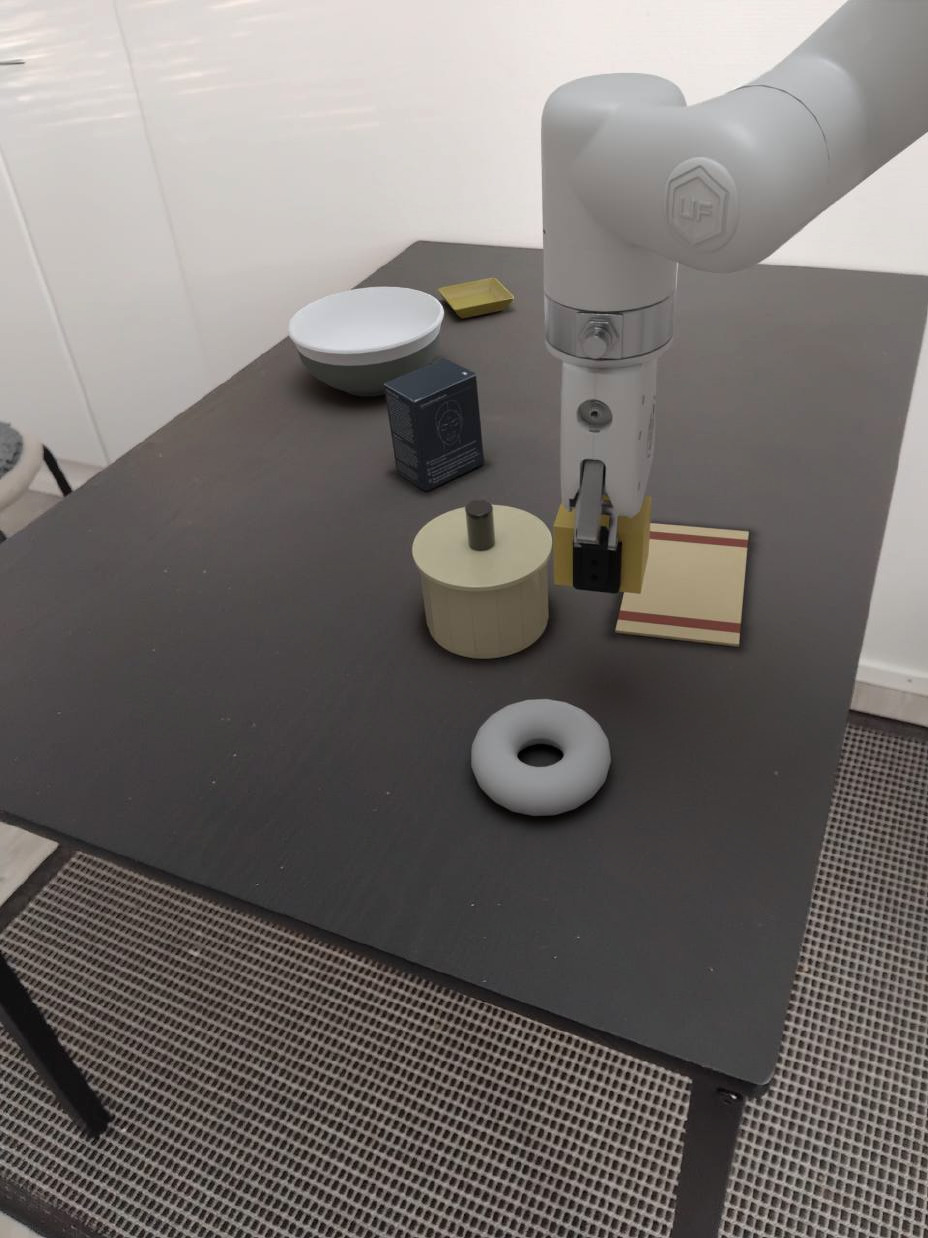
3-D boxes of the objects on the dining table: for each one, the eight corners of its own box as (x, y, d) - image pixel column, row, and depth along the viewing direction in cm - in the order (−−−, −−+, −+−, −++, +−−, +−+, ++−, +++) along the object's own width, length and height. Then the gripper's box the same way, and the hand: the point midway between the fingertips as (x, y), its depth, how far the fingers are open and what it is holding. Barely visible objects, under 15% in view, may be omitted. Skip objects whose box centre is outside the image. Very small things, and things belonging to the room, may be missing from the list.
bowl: (412, 425, 112) (404, 357, 106) (271, 407, 118) (257, 342, 112) (472, 354, 125) (467, 291, 119) (342, 341, 131) (332, 280, 125)
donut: (638, 767, 71) (535, 700, 76) (641, 735, 68) (535, 668, 74) (546, 852, 66) (443, 774, 71) (545, 820, 63) (439, 742, 69)
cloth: (748, 533, 91) (748, 531, 91) (738, 647, 79) (739, 644, 79) (640, 524, 93) (640, 521, 93) (615, 632, 82) (615, 629, 82)
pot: (544, 577, 88) (542, 508, 83) (552, 655, 80) (550, 583, 75) (429, 584, 89) (421, 516, 84) (425, 662, 81) (416, 591, 76)
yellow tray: (437, 301, 139) (436, 287, 137) (495, 290, 140) (494, 275, 139) (455, 324, 132) (454, 309, 131) (515, 312, 134) (515, 297, 132)
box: (453, 446, 107) (445, 355, 101) (485, 465, 104) (478, 373, 97) (394, 472, 104) (381, 381, 97) (425, 493, 100) (413, 400, 94)
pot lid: (548, 510, 84) (546, 464, 81) (557, 593, 75) (556, 545, 72) (416, 519, 85) (410, 473, 82) (410, 602, 76) (403, 554, 73)
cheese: (648, 555, 70) (652, 496, 67) (640, 594, 67) (643, 534, 64) (565, 547, 72) (565, 489, 68) (553, 584, 68) (553, 525, 65)
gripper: (656, 388, 50) (640, 652, 62) (687, 264, 62) (669, 504, 74) (513, 380, 52) (524, 637, 64) (571, 261, 64) (571, 495, 76)
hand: (602, 563), depth 69 cm, fingers closed on cheese, 4 cm apart
